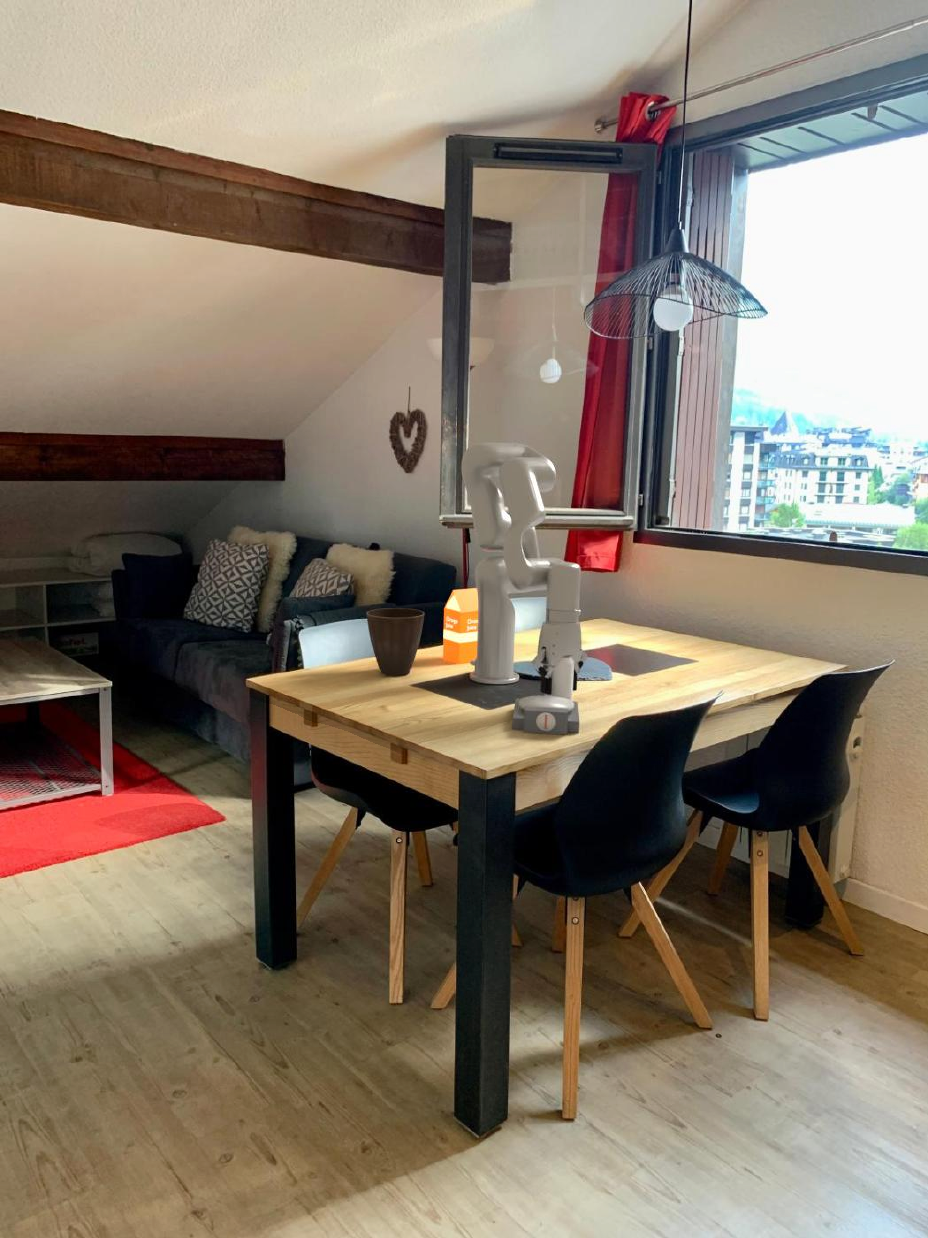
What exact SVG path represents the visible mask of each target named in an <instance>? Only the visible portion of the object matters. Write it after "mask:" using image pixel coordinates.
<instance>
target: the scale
mask: <svg viewBox="0 0 928 1238" xmlns="http://www.w3.org/2000/svg"><path fill="white" fill-rule="evenodd" d="M511 725H512V727H511V728H512V730H523V733H527V734H530V733H531V734H544V735H545V734H546V735H562V734H567V735H568V733H580V714H579V702H578V701H573V700H572V701H571V700H568V699H565V698H561V697H556V696H545V695H530V696H526V697H522V698H515V701H514V709H513V715H512V724H511Z"/></svg>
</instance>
